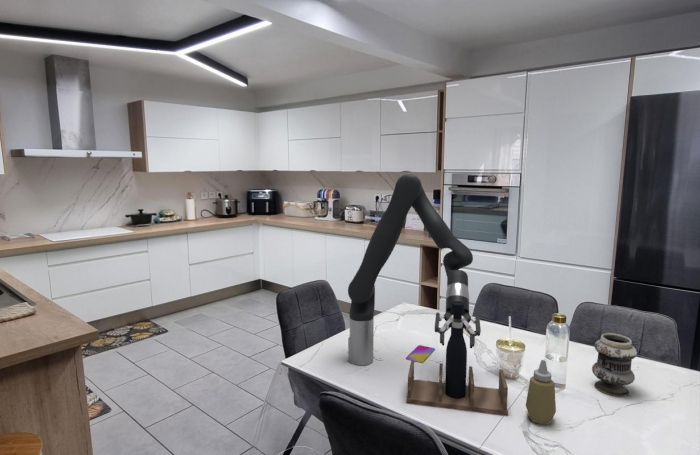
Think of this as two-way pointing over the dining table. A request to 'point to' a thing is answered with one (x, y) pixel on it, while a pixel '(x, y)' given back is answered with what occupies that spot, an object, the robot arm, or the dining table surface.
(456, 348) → the black bottle
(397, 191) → the robot arm
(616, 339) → the apothecary jar
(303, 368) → the dining table surface
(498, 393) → the slot rack
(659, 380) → the dining table surface
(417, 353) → the smartphone
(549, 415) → the squeeze bottle
